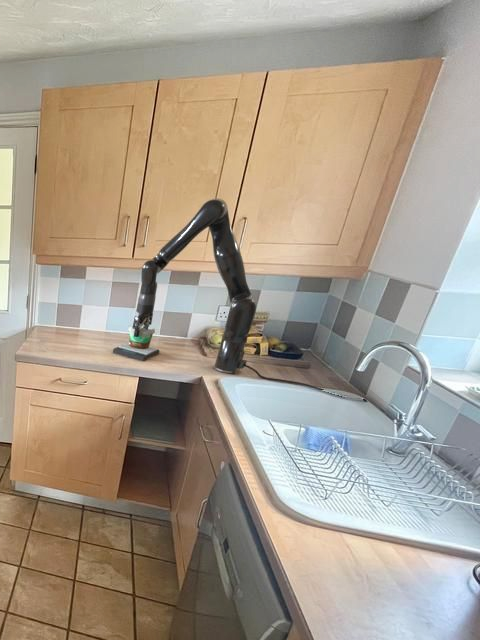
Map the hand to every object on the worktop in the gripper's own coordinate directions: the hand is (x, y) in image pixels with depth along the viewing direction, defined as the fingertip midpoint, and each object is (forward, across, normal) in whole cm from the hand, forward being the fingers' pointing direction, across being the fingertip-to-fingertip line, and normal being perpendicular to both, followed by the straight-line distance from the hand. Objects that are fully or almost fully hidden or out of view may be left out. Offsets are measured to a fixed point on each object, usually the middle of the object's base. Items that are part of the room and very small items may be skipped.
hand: (140, 335), depth 204 cm
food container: (+6, 0, 0) cm, 6 cm away
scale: (+9, -2, 0) cm, 9 cm away
